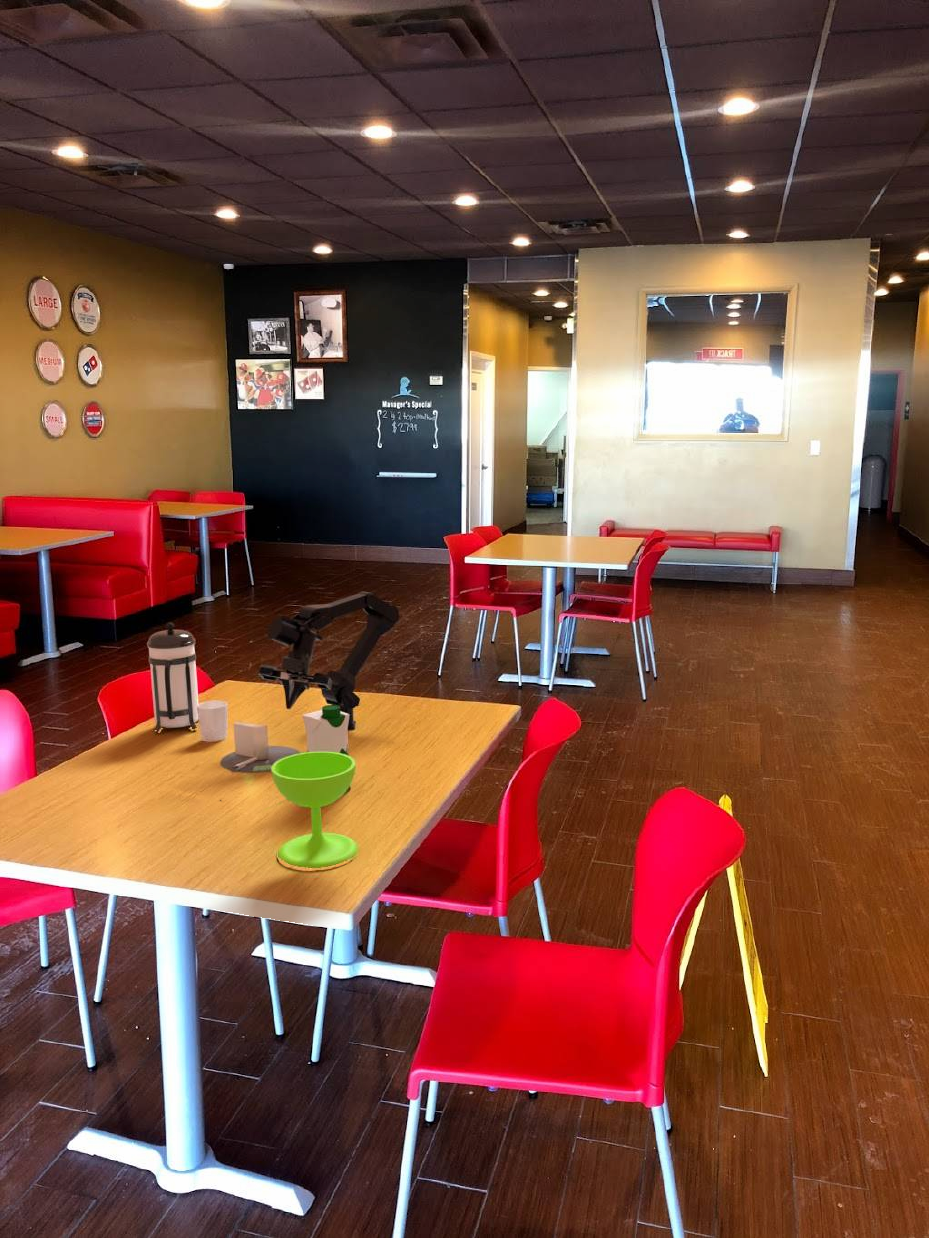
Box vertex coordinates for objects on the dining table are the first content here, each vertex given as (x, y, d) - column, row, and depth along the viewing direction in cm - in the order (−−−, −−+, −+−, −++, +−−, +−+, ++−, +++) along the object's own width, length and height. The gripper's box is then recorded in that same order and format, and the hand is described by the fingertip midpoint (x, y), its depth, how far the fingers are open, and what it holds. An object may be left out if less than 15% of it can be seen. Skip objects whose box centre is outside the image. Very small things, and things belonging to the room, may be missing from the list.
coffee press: (136, 729, 267) (127, 624, 261) (185, 716, 279) (178, 615, 273) (171, 741, 256) (162, 631, 250) (221, 727, 268) (214, 622, 262)
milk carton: (325, 799, 214) (321, 713, 210) (301, 789, 220) (297, 705, 216) (356, 789, 220) (353, 705, 216) (332, 779, 226) (329, 697, 222)
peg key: (271, 756, 239) (270, 725, 238) (239, 770, 230) (236, 738, 228) (242, 750, 244) (240, 720, 243) (209, 764, 235) (207, 732, 233)
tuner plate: (318, 756, 242) (318, 752, 242) (264, 781, 226) (264, 777, 225) (259, 744, 252) (259, 740, 252) (203, 767, 236) (202, 763, 235)
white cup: (193, 743, 254) (190, 707, 253) (211, 734, 262) (208, 699, 260) (217, 746, 252) (215, 709, 250) (235, 737, 259) (233, 701, 257)
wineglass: (262, 849, 188) (257, 762, 185) (335, 829, 197) (331, 746, 194) (298, 879, 176) (293, 786, 172) (374, 856, 185) (371, 767, 181)
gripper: (259, 637, 246) (245, 695, 241) (330, 648, 244) (317, 707, 239) (270, 649, 256) (256, 705, 252) (337, 660, 255) (325, 717, 250)
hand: (288, 708), depth 248 cm, fingers closed
